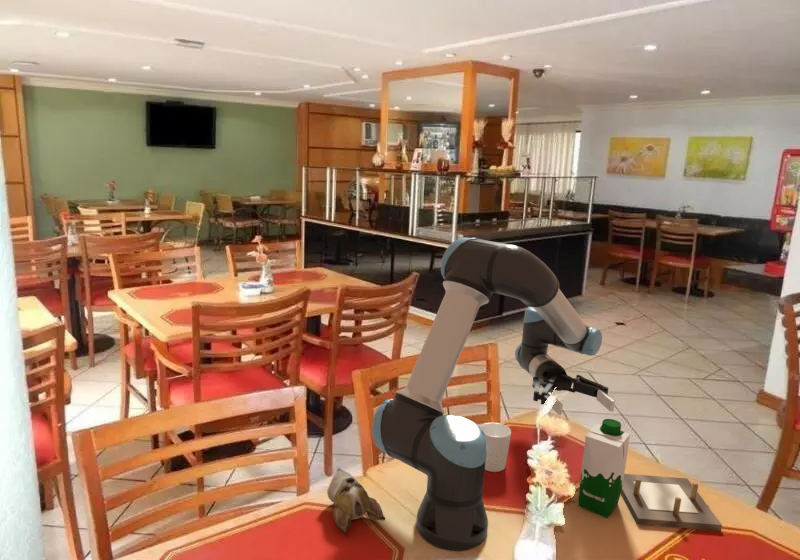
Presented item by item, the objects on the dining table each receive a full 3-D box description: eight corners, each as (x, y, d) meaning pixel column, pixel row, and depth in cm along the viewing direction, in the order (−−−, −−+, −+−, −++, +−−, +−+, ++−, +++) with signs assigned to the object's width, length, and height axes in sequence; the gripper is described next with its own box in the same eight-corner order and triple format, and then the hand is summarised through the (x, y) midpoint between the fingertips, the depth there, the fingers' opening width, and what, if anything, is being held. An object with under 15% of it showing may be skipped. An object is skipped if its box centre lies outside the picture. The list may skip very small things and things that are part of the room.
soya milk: (622, 503, 134) (635, 425, 129) (610, 522, 127) (622, 440, 122) (585, 489, 139) (596, 413, 134) (572, 506, 132) (582, 427, 127)
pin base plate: (637, 524, 126) (640, 502, 125) (612, 478, 144) (615, 458, 143) (721, 530, 126) (725, 508, 124) (686, 483, 143) (689, 464, 142)
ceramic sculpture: (360, 456, 132) (389, 495, 120) (358, 488, 135) (387, 529, 122) (316, 466, 127) (342, 508, 115) (315, 499, 130) (340, 544, 117)
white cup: (471, 466, 146) (474, 430, 144) (485, 453, 153) (488, 419, 150) (499, 477, 142) (503, 440, 140) (512, 463, 148) (516, 428, 146)
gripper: (587, 383, 161) (631, 419, 141) (503, 387, 156) (536, 425, 136) (590, 358, 159) (635, 390, 139) (506, 361, 154) (539, 396, 134)
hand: (587, 408), depth 138 cm, fingers open, 13 cm apart
